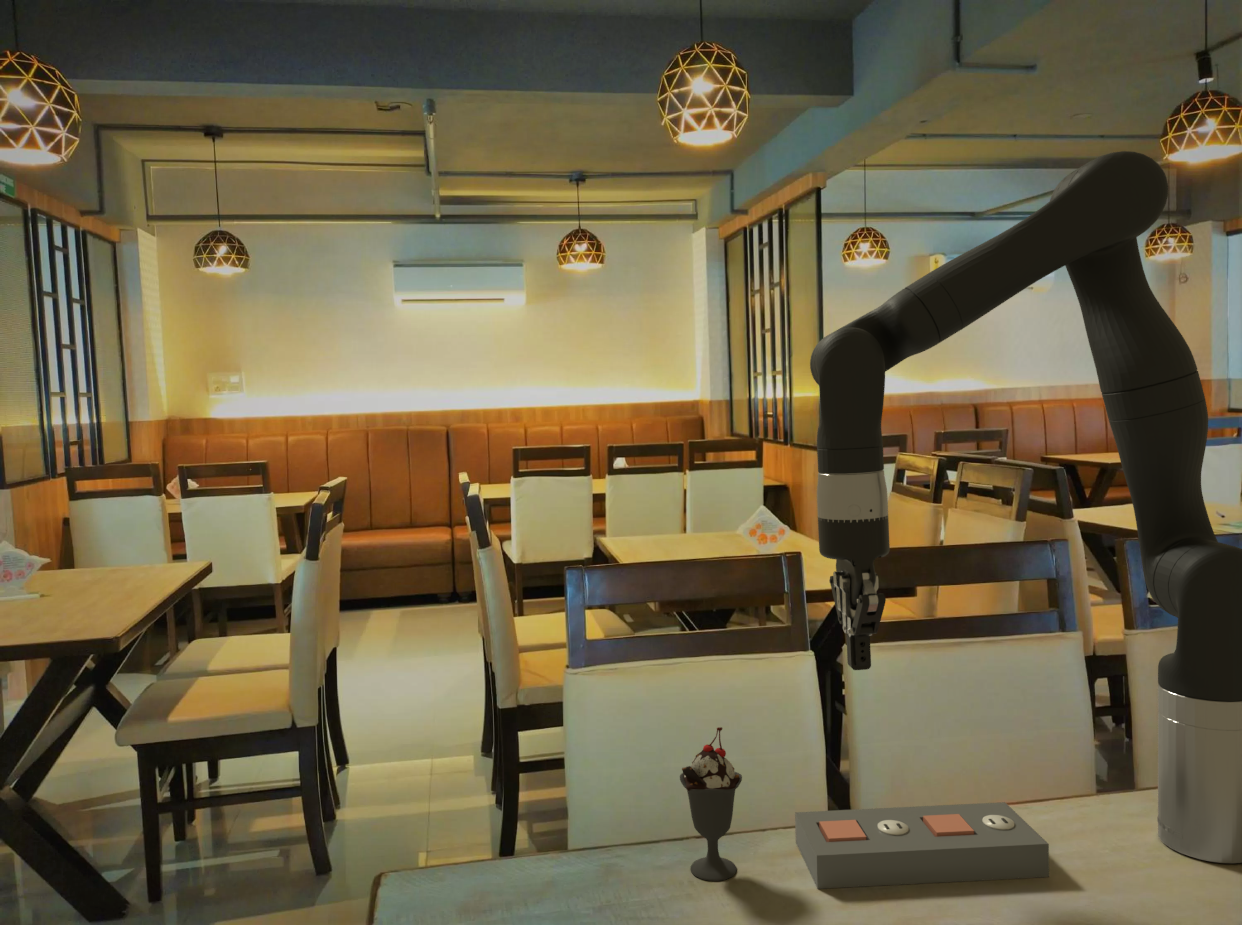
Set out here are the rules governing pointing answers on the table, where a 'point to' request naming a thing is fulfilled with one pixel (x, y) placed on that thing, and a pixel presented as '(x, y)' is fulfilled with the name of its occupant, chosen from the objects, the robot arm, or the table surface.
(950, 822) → the switch
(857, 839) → the switch
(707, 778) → the sundae
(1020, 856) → the power strip
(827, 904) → the table surface
